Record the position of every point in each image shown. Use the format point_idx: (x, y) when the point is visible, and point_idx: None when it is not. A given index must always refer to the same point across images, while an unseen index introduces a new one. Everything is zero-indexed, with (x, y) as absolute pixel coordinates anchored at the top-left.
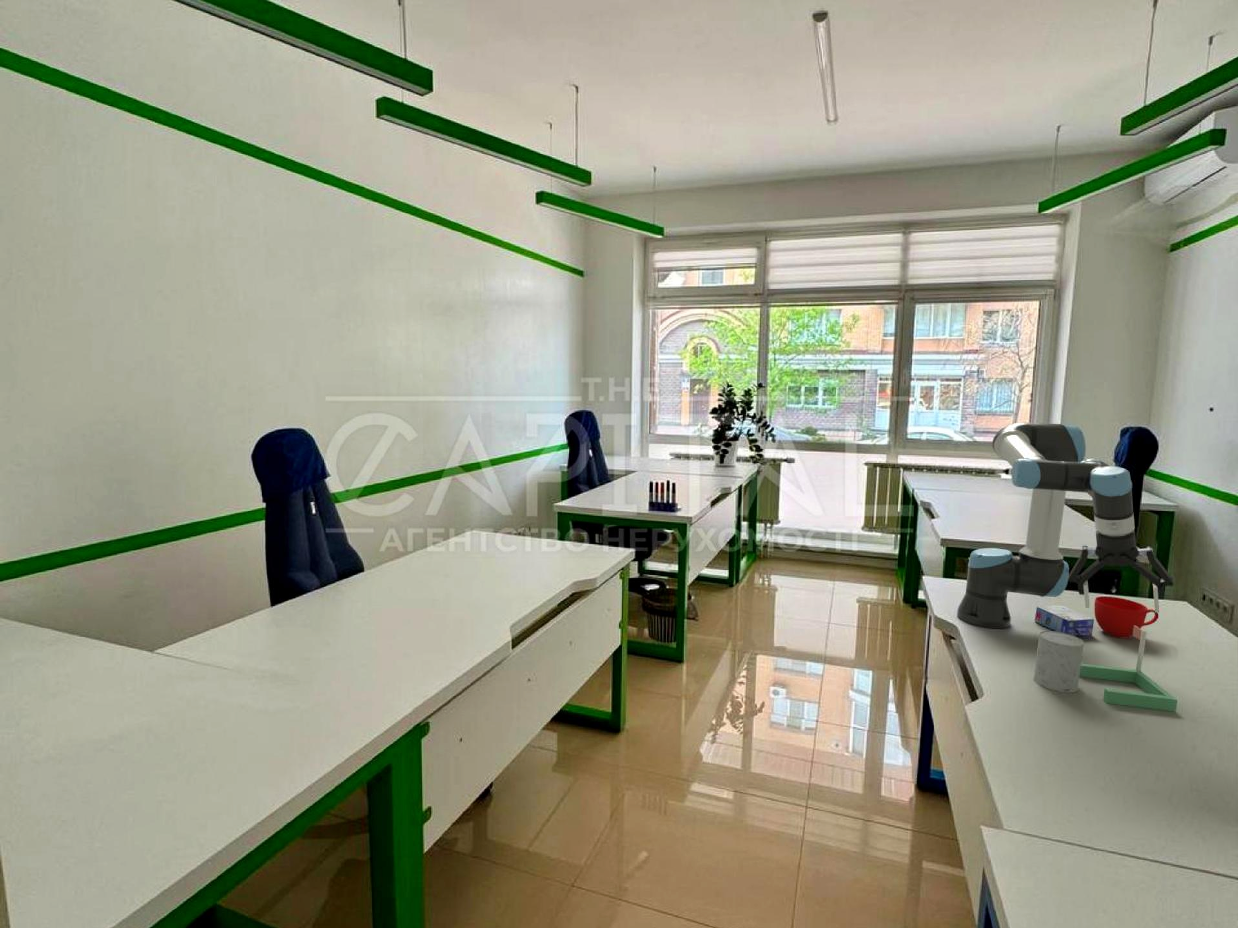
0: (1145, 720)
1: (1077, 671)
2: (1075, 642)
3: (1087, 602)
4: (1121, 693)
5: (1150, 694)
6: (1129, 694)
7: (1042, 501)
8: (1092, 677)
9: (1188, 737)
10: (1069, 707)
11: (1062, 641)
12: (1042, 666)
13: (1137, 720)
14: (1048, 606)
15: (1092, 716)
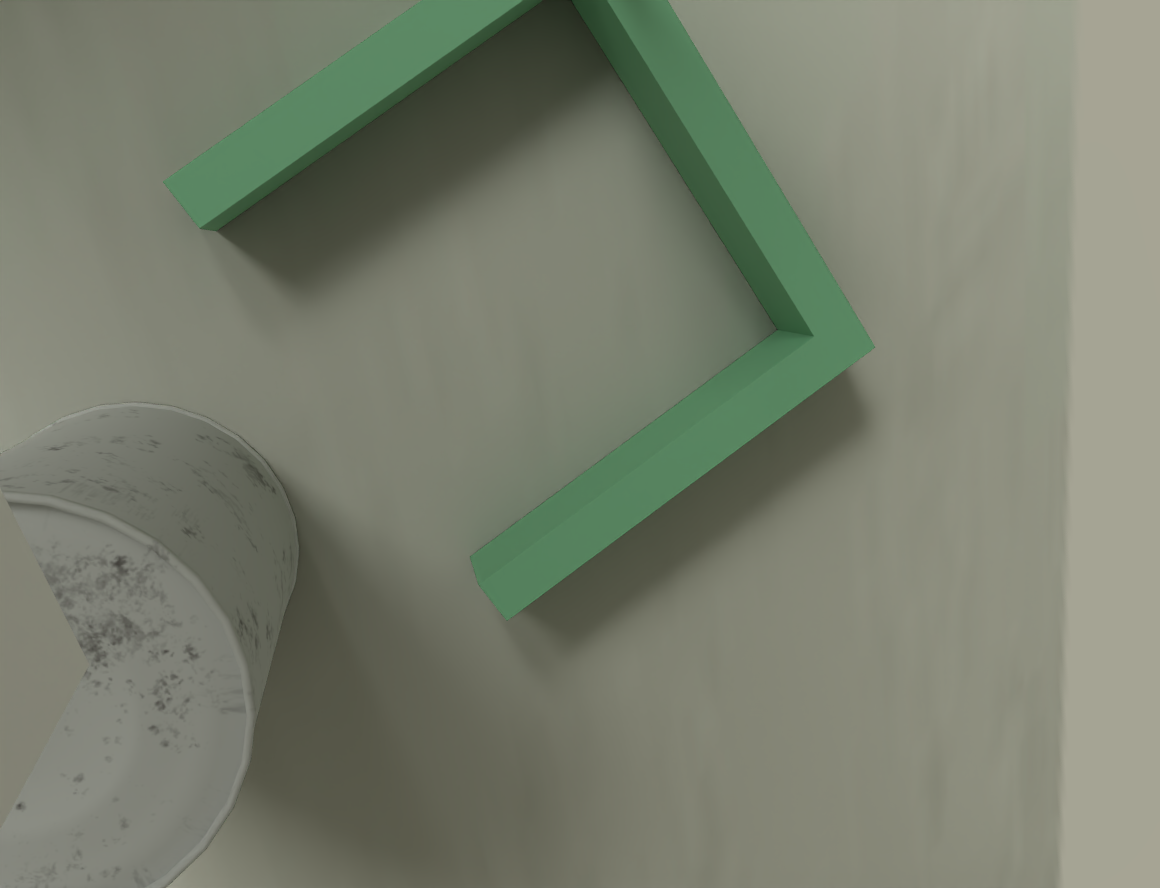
0: (716, 652)
1: (276, 643)
2: (163, 692)
3: (11, 765)
4: (580, 564)
5: (730, 408)
6: (623, 533)
7: None
8: (304, 168)
9: (911, 676)
10: (349, 874)
11: (50, 791)
12: None
13: (683, 694)
14: None
15: (483, 876)
